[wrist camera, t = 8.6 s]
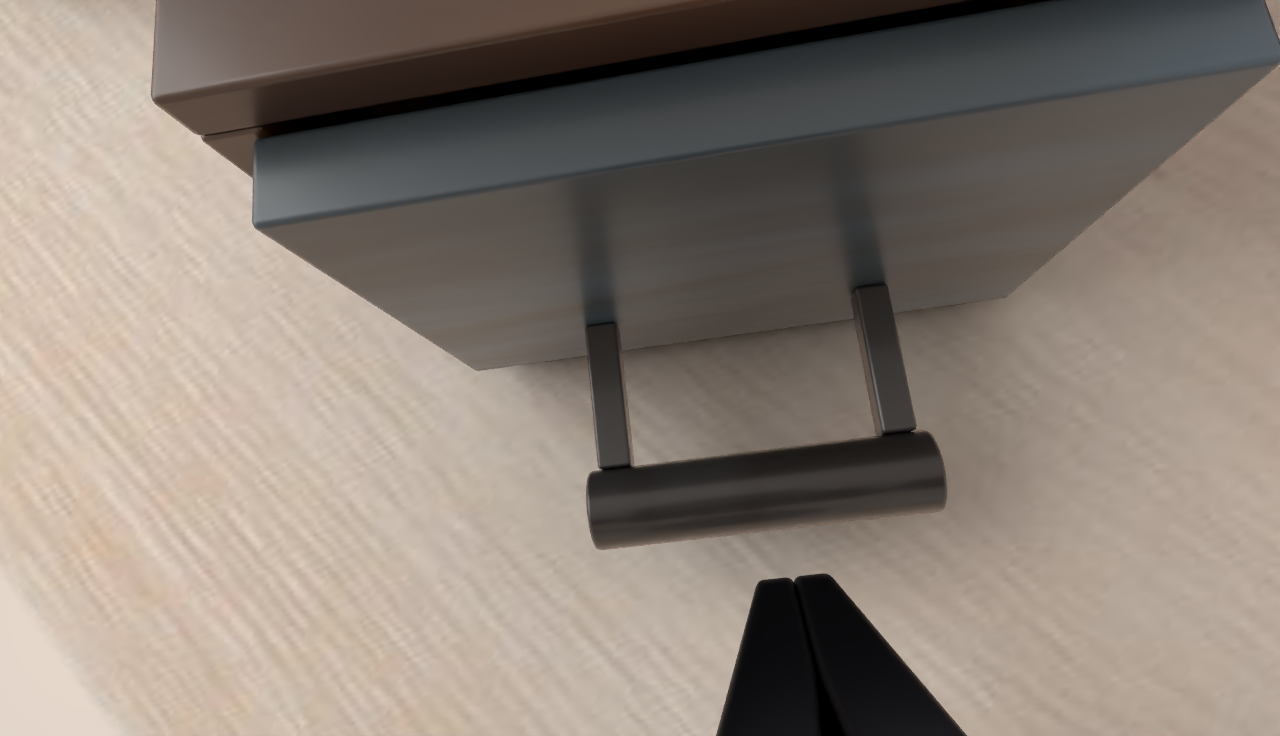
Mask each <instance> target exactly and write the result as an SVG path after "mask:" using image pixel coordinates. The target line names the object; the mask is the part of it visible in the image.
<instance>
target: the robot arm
mask: <svg viewBox="0 0 1280 736" xmlns="http://www.w3.org/2000/svg"><path fill="white" fill-rule="evenodd" d="M716 736H967V735H966V734H965V733H964V732H963V730H962V729H961V728H960V727H959V726H958V725H957V723H956V722H955V721H954V720H953V719H952V718H951V716H950V715H949V714H948V713H947V712H946V710H945V709H944V708H943V707H942V706H941V705H940V703H939V702H938V701H937V700H936V699H935V698H934V696H933V695H932V694H931V693H930V692H929V690H928V689H927V688H926V687H925V686H924V685H923V683H922V682H921V681H920V680H919V679H918V678H917V676H916V675H915V674H914V673H913V672H912V670H911V669H910V668H909V667H908V666H907V665H906V663H905V662H904V661H903V660H902V659H901V657H900V656H899V655H898V654H897V653H896V652H895V650H894V649H893V648H892V647H891V646H890V645H889V643H888V642H887V641H886V640H885V639H884V637H883V636H882V635H881V634H880V633H879V632H878V630H877V629H876V628H875V627H874V626H873V625H872V623H871V622H870V621H869V620H868V619H867V617H866V616H865V615H864V614H863V613H862V612H861V610H860V609H859V608H858V607H857V606H856V605H855V603H854V602H853V601H852V600H851V599H850V597H849V596H848V595H847V594H846V593H845V592H844V590H843V589H842V588H841V587H840V586H839V584H838V583H837V582H836V581H835V580H834V579H833V578H832V577H831V576H830V575H828V574H815V575H806V576H799V577H797V578H796V579H795V580H794V582H793V581H792V580H791V579H790V578H778V579H768V580H762V581H760V582H758V584H757V586H756V589H755V592H754V596H753V600H752V604H751V607H750V611H749V615H748V619H747V622H746V626H745V630H744V633H743V637H742V641H741V645H740V648H739V652H738V656H737V660H736V663H735V667H734V671H733V675H732V678H731V682H730V686H729V690H728V693H727V697H726V701H725V705H724V708H723V712H722V716H721V720H720V723H719V727H718V731H717V735H716Z"/></svg>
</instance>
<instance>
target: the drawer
mask: <svg viewBox="0 0 1280 736" xmlns="http://www.w3.org/2000/svg"><path fill="white" fill-rule="evenodd" d="M1279 64H1280V40H1279V38H1278V35H1277V32H1276V30H1275V27H1274V24H1273V22H1272V19H1271V16H1270V13H1269V11H1268V8H1267V5H1266V3H1265V0H973V1H967V2H961V3H956V4H950V5H944V6H938V7H933V8H927V9H921V10H916V11H910V12H904V13H899V14H893V15H887V16H882V17H876V18H870V19H865V20H859V21H853V22H847V23H842V24H836V25H830V26H825V27H819V28H813V29H808V30H802V31H796V32H791V33H785V34H779V35H774V36H768V37H762V38H757V39H751V40H745V41H739V42H734V43H728V44H722V45H717V46H711V47H705V48H700V49H694V50H688V51H683V52H677V53H671V54H666V55H660V56H654V57H648V58H643V59H637V60H631V61H626V62H620V63H614V64H609V65H603V66H597V67H592V68H586V69H580V70H575V71H569V72H563V73H557V74H552V75H546V76H540V77H535V78H529V79H523V80H518V81H512V82H506V83H501V84H495V85H489V86H484V87H478V88H472V89H466V90H461V91H455V92H449V93H444V94H438V95H432V96H427V97H421V98H415V99H410V100H404V101H398V102H393V103H387V104H381V105H375V106H370V108H371V109H372V110H373V112H374V113H375V114H376V115H377V116H378V118H373V119H367V120H362V121H356V122H350V123H344V124H339V125H333V126H327V127H321V128H316V129H310V130H304V131H298V132H293V133H287V134H281V135H275V136H270V137H264V138H259V139H257V140H255V142H254V154H253V211H252V222H253V225H254V227H255V228H256V229H257V230H258V231H260V232H262V233H263V234H265V235H266V236H268V237H269V238H271V239H272V240H274V241H276V242H277V243H279V244H280V245H282V246H283V247H285V248H286V249H288V250H290V251H291V252H293V253H294V254H296V255H297V256H299V257H300V258H302V259H303V260H305V261H307V262H308V263H310V264H311V265H313V266H314V267H316V268H317V269H319V270H321V271H322V272H324V273H325V274H327V275H328V276H330V277H331V278H333V279H335V280H336V281H338V282H339V283H341V284H342V285H344V286H345V287H347V288H349V289H350V290H352V291H353V292H355V293H356V294H358V295H359V296H361V297H363V298H364V299H366V300H367V301H369V302H370V303H372V304H373V305H375V306H377V307H378V308H380V309H381V310H383V311H384V312H386V313H387V314H389V315H391V316H392V317H394V318H395V319H397V320H398V321H400V322H401V323H403V324H405V325H406V326H408V327H409V328H411V329H412V330H414V331H415V332H417V333H419V334H420V335H422V336H423V337H425V338H426V339H428V340H429V341H431V342H432V343H434V344H436V345H437V346H439V347H440V348H442V349H443V350H445V351H446V352H448V353H450V354H451V355H453V356H454V357H456V358H457V359H459V360H460V361H462V362H464V363H465V364H467V365H468V366H470V367H471V368H473V369H474V370H477V371H480V370H488V369H495V368H502V367H509V366H516V365H524V364H531V363H538V362H545V361H552V360H560V359H567V358H574V357H581V356H587V357H588V368H589V378H590V388H591V399H592V409H593V420H594V430H595V440H596V451H597V461H598V467H599V469H601V470H600V471H593V472H591V473H589V475H588V479H587V485H586V504H587V515H588V522H589V528H590V533H591V537H592V540H593V542H594V544H595V547H596V548H597V549H599V550H606V549H615V548H624V547H633V546H641V545H650V544H659V543H668V542H676V541H685V540H694V539H703V538H712V537H720V536H729V535H738V534H747V533H756V532H764V531H773V530H782V529H791V528H800V527H808V526H817V525H826V524H835V523H844V522H852V521H861V520H870V519H879V518H888V517H896V516H905V515H914V514H923V513H932V512H939V511H941V510H942V509H943V508H944V507H945V504H946V498H947V480H946V473H945V467H944V463H943V459H942V456H941V453H940V450H939V447H938V445H937V443H936V441H935V439H934V438H933V436H932V435H931V434H930V433H929V432H927V431H915V432H911V431H913V430H915V429H916V421H915V416H914V411H913V406H912V401H911V396H910V391H909V387H908V382H907V377H906V372H905V367H904V362H903V357H902V352H901V347H900V342H899V337H898V332H897V327H896V323H895V318H894V313H898V312H905V311H912V310H920V309H927V308H934V307H941V306H948V305H956V304H963V303H970V302H977V301H984V300H992V299H999V298H1005V297H1007V296H1008V295H1009V294H1010V293H1012V292H1013V291H1014V290H1015V289H1016V288H1017V287H1019V286H1020V285H1021V284H1022V283H1023V282H1025V281H1026V280H1027V279H1028V278H1029V277H1030V276H1032V275H1033V274H1034V273H1035V272H1036V271H1037V270H1039V269H1040V268H1041V267H1042V266H1043V265H1044V264H1046V263H1047V262H1048V261H1049V260H1050V259H1051V258H1053V257H1054V256H1055V255H1056V254H1057V253H1059V252H1060V251H1061V250H1062V249H1063V248H1064V247H1066V246H1067V245H1068V244H1069V243H1070V242H1071V241H1073V240H1074V239H1075V238H1076V237H1077V236H1078V235H1080V234H1081V233H1082V232H1083V231H1084V230H1086V229H1087V228H1088V227H1089V226H1090V225H1091V224H1093V223H1094V222H1095V221H1096V220H1097V219H1098V218H1100V217H1101V216H1102V215H1103V214H1104V213H1105V212H1107V211H1108V210H1109V209H1110V208H1111V207H1113V206H1114V205H1115V204H1116V203H1117V202H1118V201H1120V200H1121V199H1122V198H1123V197H1124V196H1125V195H1127V194H1128V193H1129V192H1130V191H1131V190H1132V189H1134V188H1135V187H1136V186H1137V185H1138V184H1140V183H1141V182H1142V181H1143V180H1144V179H1145V178H1147V177H1148V176H1149V175H1150V174H1151V173H1152V172H1154V171H1155V170H1156V169H1157V168H1158V167H1159V166H1161V165H1162V164H1163V163H1164V162H1165V161H1167V160H1168V159H1169V158H1170V157H1171V156H1172V155H1174V154H1175V153H1176V152H1177V151H1178V150H1179V149H1181V148H1182V147H1183V146H1184V145H1185V144H1186V143H1188V142H1189V141H1190V140H1191V139H1192V138H1194V137H1195V136H1196V135H1197V134H1198V133H1199V132H1201V131H1202V130H1203V129H1204V128H1205V127H1206V126H1208V125H1209V124H1210V123H1211V122H1212V121H1213V120H1215V119H1216V118H1217V117H1218V116H1219V115H1220V114H1222V113H1223V112H1224V111H1225V110H1226V109H1228V108H1229V107H1230V106H1231V105H1232V104H1233V103H1235V102H1236V101H1237V100H1238V99H1239V98H1240V97H1242V96H1243V95H1244V94H1245V93H1246V92H1247V91H1249V90H1250V89H1251V88H1252V87H1253V86H1255V85H1256V84H1257V83H1258V82H1259V81H1260V80H1262V79H1263V78H1264V77H1265V76H1266V75H1267V74H1269V73H1270V72H1271V71H1272V70H1273V69H1274V68H1276V67H1277V66H1278V65H1279ZM848 319H854V320H855V325H856V331H857V336H858V341H859V346H860V352H861V357H862V362H863V368H864V373H865V378H866V383H867V389H868V394H869V399H870V405H871V410H872V415H873V420H874V426H875V431H876V434H877V436H874V437H866V438H858V439H850V440H842V441H834V442H826V443H818V444H810V445H802V446H794V447H786V448H778V449H769V450H761V451H753V452H745V453H737V454H729V455H721V456H713V457H705V458H697V459H689V460H681V461H673V462H665V463H656V464H648V465H640V466H634V456H633V447H632V438H631V429H630V420H629V410H628V401H627V392H626V383H625V374H624V364H623V355H622V351H624V350H632V349H639V348H646V347H653V346H660V345H668V344H675V343H682V342H689V341H696V340H704V339H711V338H718V337H725V336H732V335H740V334H747V333H754V332H761V331H768V330H776V329H783V328H790V327H797V326H804V325H812V324H819V323H826V322H833V321H840V320H848Z"/></svg>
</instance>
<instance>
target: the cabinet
mask: <svg viewBox="0 0 1280 736" xmlns="http://www.w3.org/2000/svg"><path fill="white" fill-rule="evenodd" d="M967 1H973V0H156V14H155V32H154V50H153V68H152V85H151V97H152V100H153V101H154V103H155V104H156V105H157V106H159V107H160V108H161V109H163V110H164V111H165V112H167V113H168V114H169V115H171V116H172V117H173V118H175V119H176V120H177V121H179V122H180V123H181V124H183V125H184V126H185V127H187V128H188V129H189V130H191V131H192V132H193V133H195V134H198V135H201V138H202V140H203V141H204V142H205V143H206V144H208V145H209V146H210V147H212V148H213V149H214V150H216V151H217V152H218V153H220V154H221V155H222V156H224V157H225V158H226V159H228V160H229V161H230V162H232V163H233V164H234V165H236V166H237V167H238V168H240V169H241V170H242V171H244V172H245V173H246V174H248V175H249V176H251V177H252V178H253V154H254V142H255V140H257V139H259V138H264V137H270V136H275V135H281V134H287V133H293V132H298V131H304V130H310V129H316V128H321V127H327V126H333V125H339V124H344V123H350V122H356V121H362V120H367V119H373V118H378V116H377V115H376V114H375V113H374V112H373V110H372V109H371V108H370V106H375V105H381V104H387V103H393V102H398V101H404V100H410V99H415V98H421V97H427V96H432V95H438V94H444V93H449V92H455V91H461V90H466V89H472V88H478V87H484V86H489V85H495V84H501V83H506V82H512V81H518V80H523V79H529V78H535V77H540V76H546V75H552V74H557V73H563V72H569V71H575V70H580V69H586V68H592V67H597V66H603V65H609V64H614V63H620V62H626V61H631V60H637V59H643V58H648V57H654V56H660V55H666V54H671V53H677V52H683V51H688V50H694V49H700V48H705V47H711V46H717V45H722V44H728V43H734V42H739V41H745V40H751V39H757V38H762V37H768V36H774V35H779V34H785V33H791V32H796V31H802V30H808V29H813V28H819V27H825V26H830V25H836V24H842V23H847V22H853V21H859V20H865V19H870V18H876V17H882V16H887V15H893V14H899V13H904V12H910V11H916V10H921V9H927V8H933V7H938V6H944V5H950V4H956V3H961V2H967Z"/></svg>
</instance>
